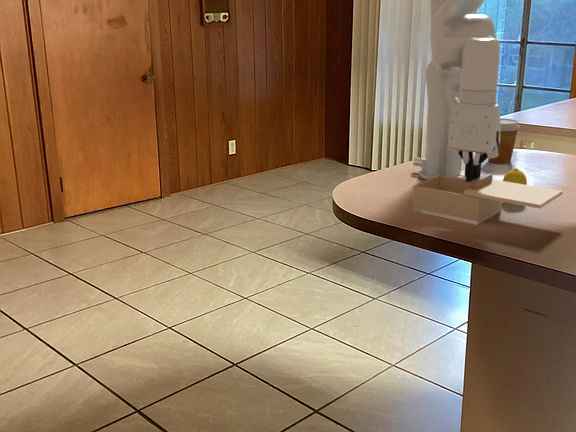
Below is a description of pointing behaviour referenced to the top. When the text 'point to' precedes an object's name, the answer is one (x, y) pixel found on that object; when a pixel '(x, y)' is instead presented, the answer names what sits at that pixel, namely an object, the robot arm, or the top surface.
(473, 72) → the robot arm
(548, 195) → the mailer lid
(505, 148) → the disposable coffee cup
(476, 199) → the mailer box
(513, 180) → the lemon
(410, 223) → the top surface
